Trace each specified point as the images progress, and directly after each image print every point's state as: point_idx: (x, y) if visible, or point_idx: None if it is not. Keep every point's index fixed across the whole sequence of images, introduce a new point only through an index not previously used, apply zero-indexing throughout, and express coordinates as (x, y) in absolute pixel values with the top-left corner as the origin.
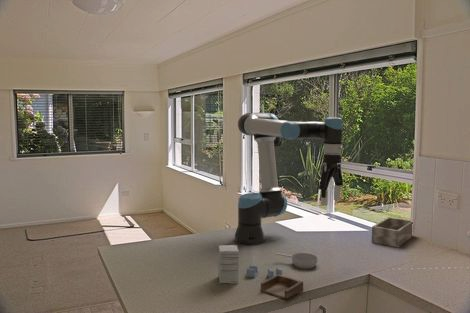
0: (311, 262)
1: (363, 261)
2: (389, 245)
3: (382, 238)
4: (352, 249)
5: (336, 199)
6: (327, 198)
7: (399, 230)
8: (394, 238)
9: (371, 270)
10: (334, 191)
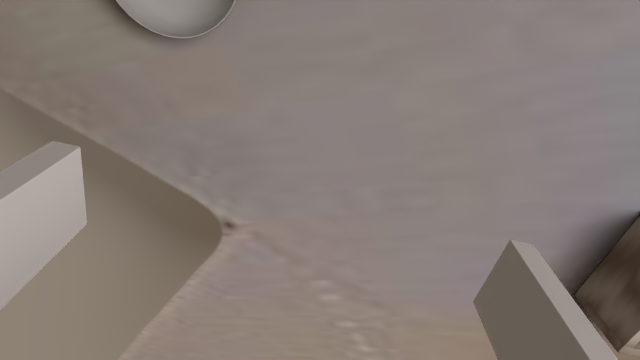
0: (134, 16)
1: (355, 200)
2: (594, 271)
3: (630, 265)
4: (508, 146)
5: (492, 278)
6: (7, 293)
7: (629, 354)
8: (604, 310)
9: (269, 230)
10: (573, 354)
